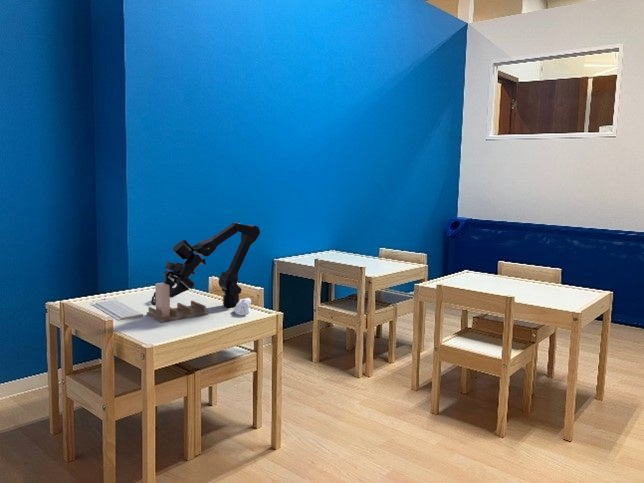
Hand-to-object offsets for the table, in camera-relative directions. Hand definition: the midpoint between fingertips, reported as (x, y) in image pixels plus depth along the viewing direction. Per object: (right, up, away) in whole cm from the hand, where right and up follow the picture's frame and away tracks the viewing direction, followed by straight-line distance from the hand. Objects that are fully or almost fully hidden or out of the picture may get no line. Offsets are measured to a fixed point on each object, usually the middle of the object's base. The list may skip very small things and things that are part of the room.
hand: (165, 294), depth 227 cm
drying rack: (+4, -9, +4) cm, 11 cm away
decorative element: (-9, -6, +30) cm, 32 cm away
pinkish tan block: (-1, -8, 0) cm, 8 cm away
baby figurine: (+31, -9, +10) cm, 33 cm away
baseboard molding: (-24, -9, +9) cm, 27 cm away
